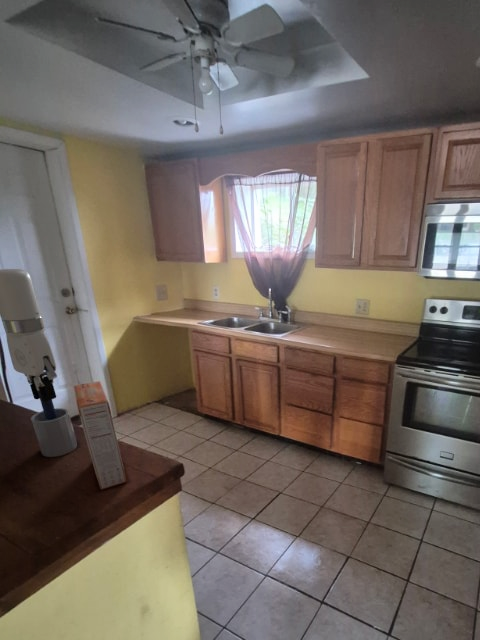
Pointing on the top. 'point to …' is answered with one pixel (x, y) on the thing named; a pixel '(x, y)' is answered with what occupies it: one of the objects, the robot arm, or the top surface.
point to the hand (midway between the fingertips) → (45, 397)
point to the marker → (46, 404)
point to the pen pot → (54, 433)
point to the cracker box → (100, 434)
